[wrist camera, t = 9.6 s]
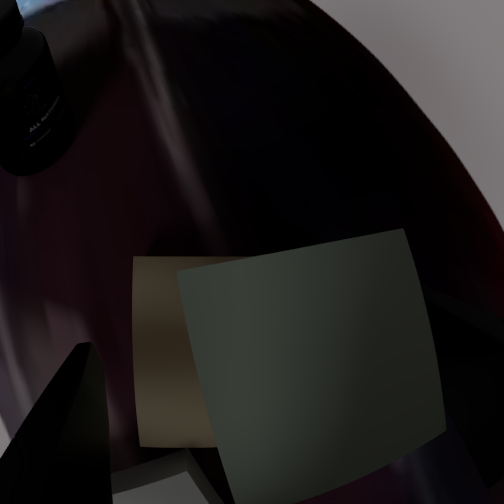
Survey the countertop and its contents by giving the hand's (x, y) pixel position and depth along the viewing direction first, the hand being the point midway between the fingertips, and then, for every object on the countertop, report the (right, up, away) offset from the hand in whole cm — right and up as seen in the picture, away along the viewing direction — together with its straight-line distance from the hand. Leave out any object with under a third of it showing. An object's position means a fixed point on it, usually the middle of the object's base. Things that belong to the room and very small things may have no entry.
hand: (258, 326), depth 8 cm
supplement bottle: (-16, +10, +11) cm, 22 cm away
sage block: (-1, -3, +7) cm, 8 cm away
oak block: (-2, -4, +10) cm, 11 cm away
